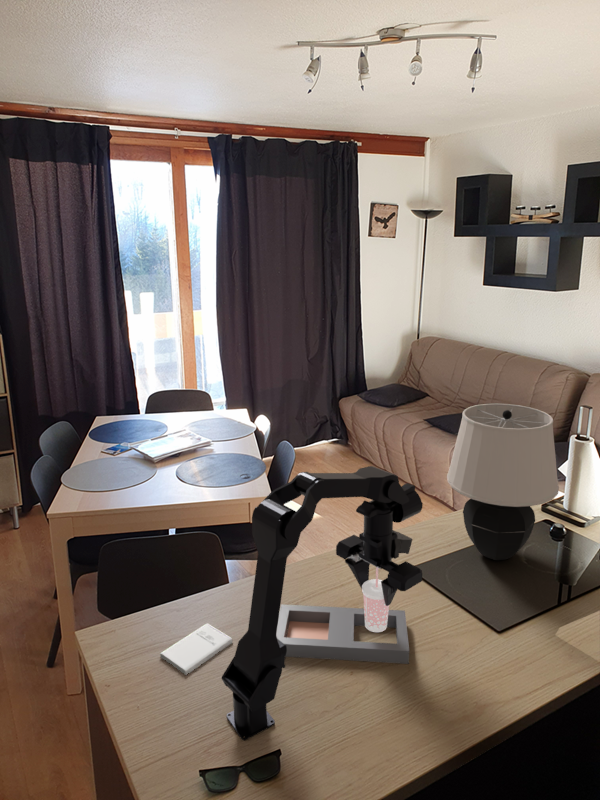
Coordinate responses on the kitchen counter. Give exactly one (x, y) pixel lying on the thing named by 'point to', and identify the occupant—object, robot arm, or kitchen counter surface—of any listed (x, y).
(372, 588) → the beverage cup
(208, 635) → the external hard drive
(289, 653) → the cup caddy
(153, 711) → the kitchen counter surface
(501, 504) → the table lamp
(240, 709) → the robot arm
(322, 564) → the kitchen counter surface
